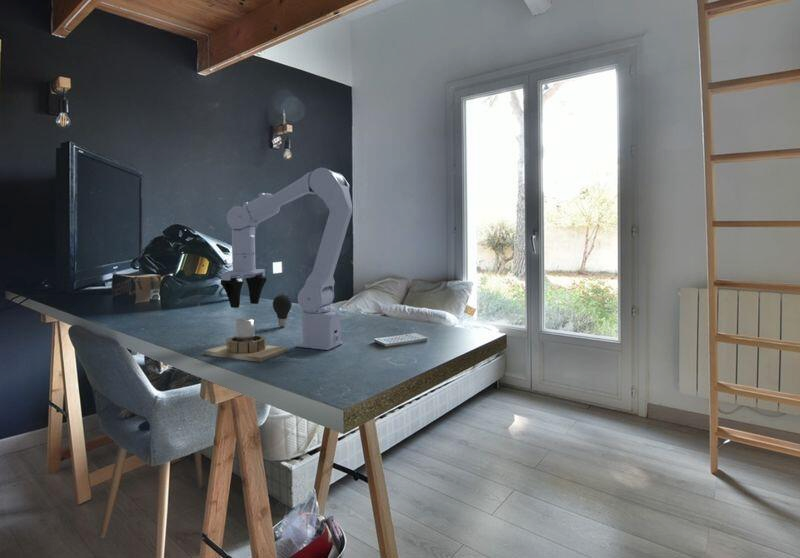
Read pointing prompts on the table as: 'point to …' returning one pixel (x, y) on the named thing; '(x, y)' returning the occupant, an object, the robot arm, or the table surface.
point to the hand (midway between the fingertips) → (245, 305)
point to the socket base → (247, 356)
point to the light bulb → (282, 308)
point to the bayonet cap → (245, 330)
